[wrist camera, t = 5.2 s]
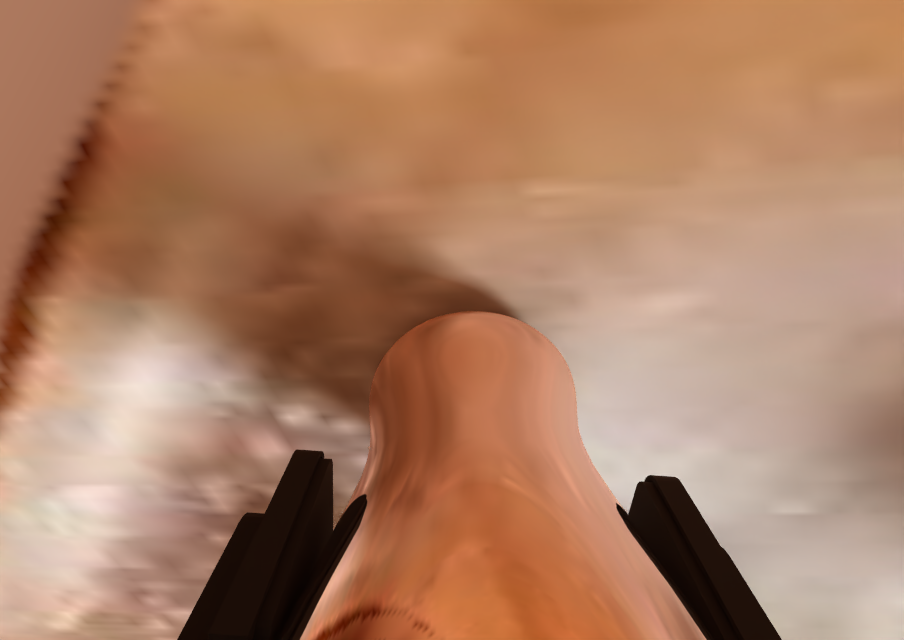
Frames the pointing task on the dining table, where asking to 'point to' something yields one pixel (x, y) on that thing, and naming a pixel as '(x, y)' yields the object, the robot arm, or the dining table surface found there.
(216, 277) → the dining table surface
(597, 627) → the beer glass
